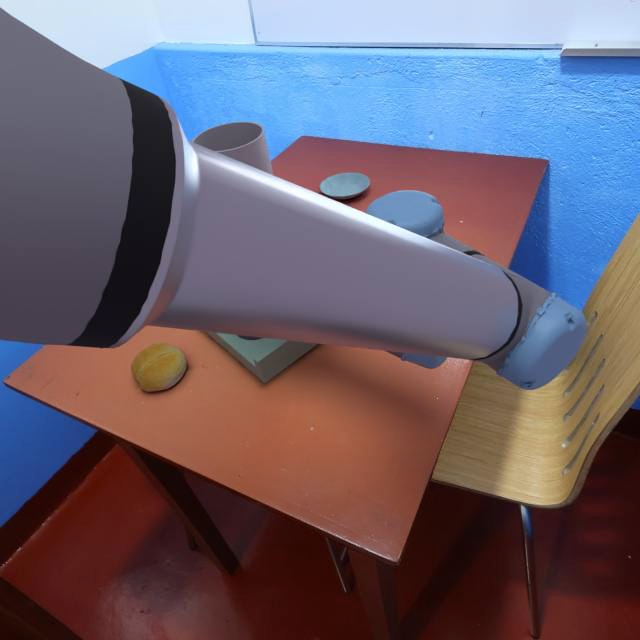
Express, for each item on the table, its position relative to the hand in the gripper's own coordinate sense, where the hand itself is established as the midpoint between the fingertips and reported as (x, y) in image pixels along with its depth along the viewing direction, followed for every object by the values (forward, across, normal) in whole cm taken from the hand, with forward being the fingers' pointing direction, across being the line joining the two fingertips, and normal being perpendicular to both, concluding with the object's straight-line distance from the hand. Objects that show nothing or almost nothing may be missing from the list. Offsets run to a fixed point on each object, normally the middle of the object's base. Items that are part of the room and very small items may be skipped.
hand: (212, 248), depth 71 cm
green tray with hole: (-5, 0, -16) cm, 17 cm away
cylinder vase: (+11, +17, -16) cm, 26 cm away
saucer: (+10, +46, -16) cm, 50 cm away
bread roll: (+3, -15, -16) cm, 22 cm away
